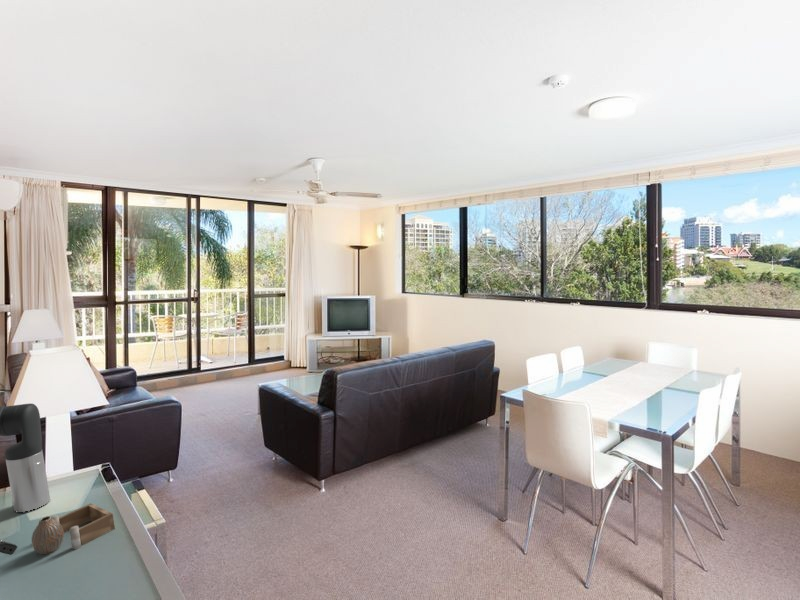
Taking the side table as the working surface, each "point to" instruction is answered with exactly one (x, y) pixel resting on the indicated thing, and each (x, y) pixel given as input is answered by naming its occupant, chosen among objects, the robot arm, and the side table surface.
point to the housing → (90, 531)
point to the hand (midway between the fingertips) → (13, 549)
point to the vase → (47, 536)
